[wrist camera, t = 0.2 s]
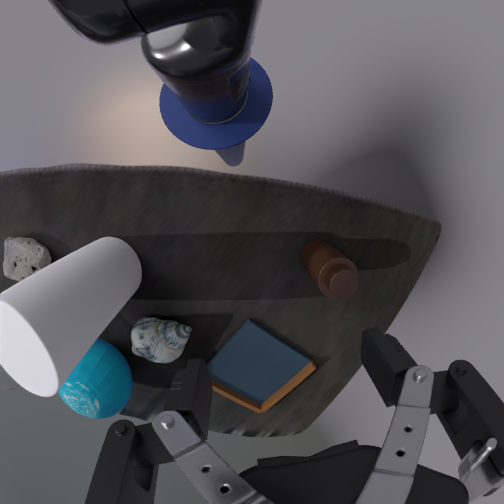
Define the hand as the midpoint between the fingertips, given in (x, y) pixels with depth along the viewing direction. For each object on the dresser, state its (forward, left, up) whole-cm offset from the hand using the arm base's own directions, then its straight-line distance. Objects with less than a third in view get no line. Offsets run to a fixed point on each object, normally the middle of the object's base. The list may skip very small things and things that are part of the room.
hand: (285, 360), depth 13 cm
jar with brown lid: (+9, +4, -28) cm, 30 cm away
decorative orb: (-8, -35, -29) cm, 46 cm away
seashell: (-2, -22, -29) cm, 36 cm away
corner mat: (+15, -18, -28) cm, 37 cm away
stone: (-31, -29, -29) cm, 51 cm away
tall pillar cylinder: (-15, -18, -29) cm, 37 cm away
